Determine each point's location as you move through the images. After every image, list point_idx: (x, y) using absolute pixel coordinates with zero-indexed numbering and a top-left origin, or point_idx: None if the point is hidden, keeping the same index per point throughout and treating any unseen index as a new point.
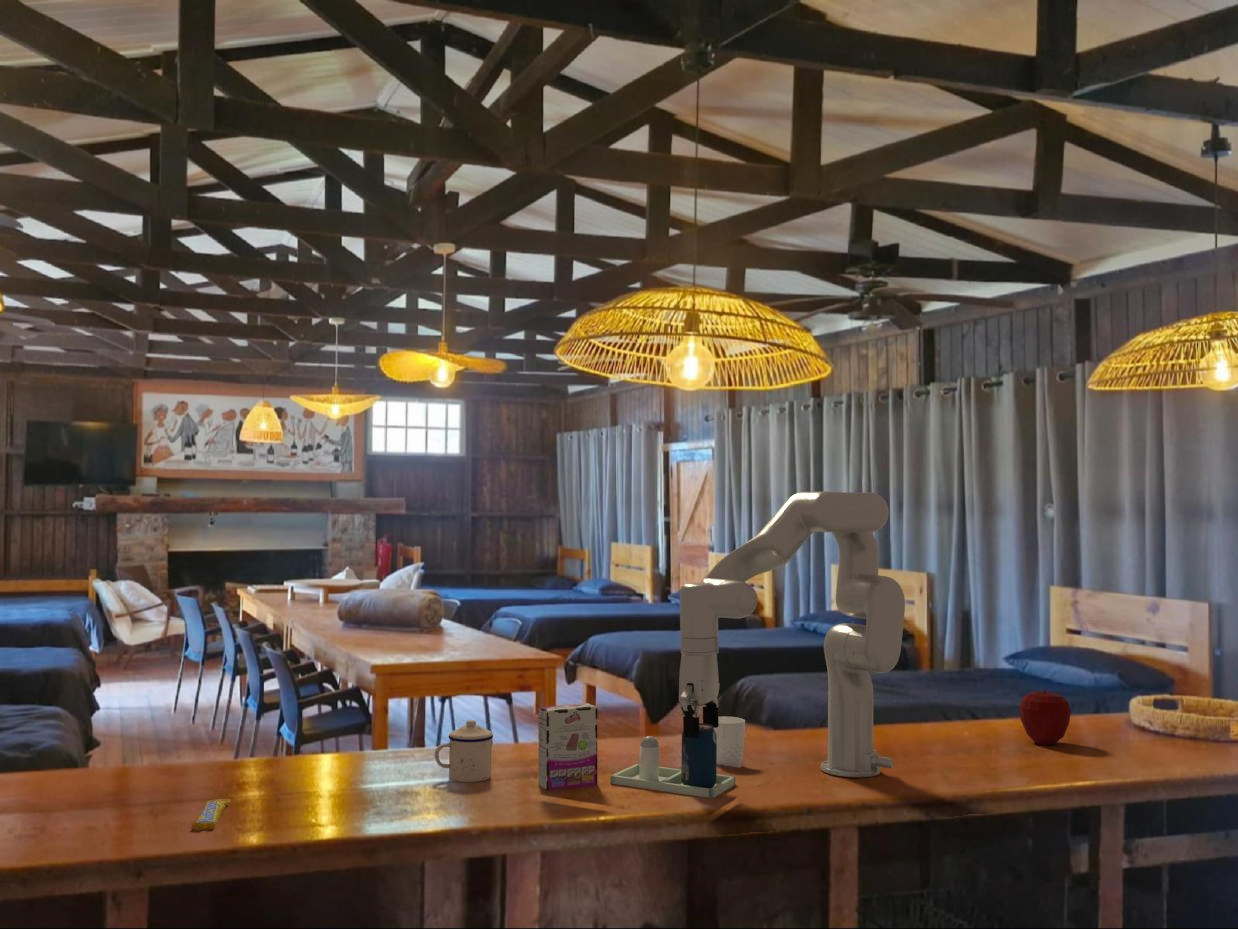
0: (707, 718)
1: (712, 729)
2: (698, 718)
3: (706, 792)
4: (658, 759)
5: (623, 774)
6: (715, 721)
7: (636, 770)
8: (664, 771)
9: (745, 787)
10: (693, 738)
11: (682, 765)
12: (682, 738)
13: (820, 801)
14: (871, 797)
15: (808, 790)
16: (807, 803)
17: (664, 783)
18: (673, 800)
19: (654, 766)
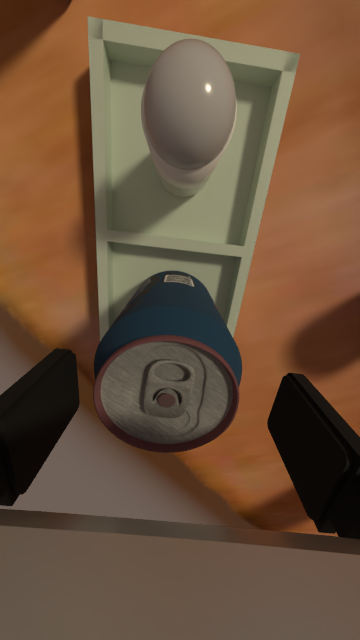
0: (296, 421)
1: (162, 444)
2: (4, 497)
3: None
4: (184, 184)
5: None
6: (278, 443)
7: (258, 78)
8: (254, 189)
9: (243, 366)
10: (94, 373)
11: (140, 288)
12: (124, 314)
13: (198, 461)
14: (241, 497)
15: (253, 442)
16: (181, 452)
17: (96, 246)
18: (90, 273)
19: (165, 180)
